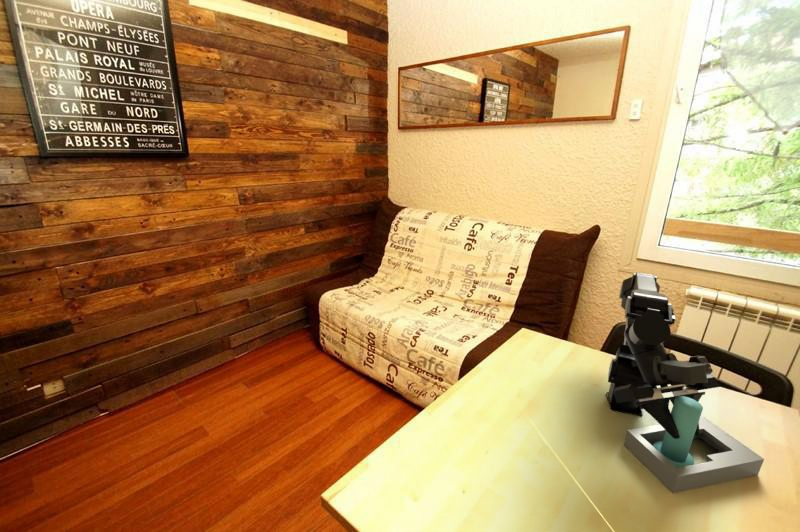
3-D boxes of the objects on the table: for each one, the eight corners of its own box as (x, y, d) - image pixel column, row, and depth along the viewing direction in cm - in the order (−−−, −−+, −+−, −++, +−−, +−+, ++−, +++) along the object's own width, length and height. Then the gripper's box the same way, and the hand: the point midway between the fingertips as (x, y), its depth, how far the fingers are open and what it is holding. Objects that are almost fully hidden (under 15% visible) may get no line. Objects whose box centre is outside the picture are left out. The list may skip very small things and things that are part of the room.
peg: (644, 452, 70) (659, 397, 65) (663, 441, 72) (679, 388, 68) (680, 478, 64) (699, 420, 60) (700, 465, 67) (719, 409, 63)
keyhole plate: (672, 493, 62) (677, 476, 61) (623, 444, 72) (627, 429, 71) (757, 474, 66) (764, 459, 64) (699, 431, 76) (704, 416, 75)
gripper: (638, 347, 63) (681, 444, 56) (723, 337, 66) (773, 427, 59) (599, 360, 73) (631, 444, 66) (674, 351, 76) (713, 430, 69)
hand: (686, 436), depth 65 cm, fingers closed on peg, 4 cm apart
